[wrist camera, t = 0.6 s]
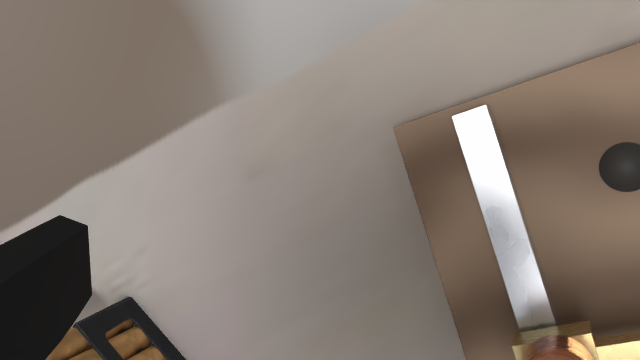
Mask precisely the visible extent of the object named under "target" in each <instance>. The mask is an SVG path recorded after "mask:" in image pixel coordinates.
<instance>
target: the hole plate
mask: <svg viewBox="0 0 640 360" xmlns="http://www.w3.org/2000/svg"><path fill="white" fill-rule="evenodd" d="M484 105H490V108H491V111H492V114H493V117H494V120H495V123H496V126H497V130H498V133H499V136H500V139H501V142H502V145H503V148H504V151H505V155H506V158H507V161H508V164H509V167H510V170H511V173H512V177H513V180H514V183H515V186H516V189H517V192H518V195H519V199H520V202H521V205H522V208H523V211H524V214H525V217H526V220H527V224H528V227H529V230H530V233H531V236H532V239H533V242H534V246H535V249H536V252H537V255H538V258H539V261H540V264H541V268H542V271H543V274H544V277H545V280H546V283H547V286H548V289H549V293H550V296H551V299H552V302H553V305H554V308H555V311H556V315H557V318H558V321H559V324H560V325H566V324H572V323H577V322H583V321H590V324H591V328H592V331H593V334H594V337H595V339H596V338H602V337H608V336H614V335H621V334H627V333H633V332H639V331H640V43H638V44H635V45H632V46H629V47H626V48H623V49H620V50H617V51H614V52H611V53H608V54H606V55H603V56H600V57H597V58H594V59H591V60H588V61H585V62H582V63H579V64H576V65H573V66H571V67H568V68H565V69H562V70H559V71H556V72H553V73H550V74H547V75H544V76H541V77H538V78H536V79H533V80H530V81H527V82H524V83H521V84H518V85H515V86H512V87H509V88H506V89H503V90H501V91H498V92H495V93H492V94H489V95H486V96H483V97H480V98H477V99H474V100H471V101H469V102H466V103H463V104H460V105H457V106H454V107H451V108H448V109H445V110H442V111H439V112H436V113H434V114H431V115H428V116H425V117H422V118H419V119H416V120H413V121H410V122H407V123H404V124H401V125H399V126H396V127H393V128H394V132H395V135H396V138H397V141H398V144H399V147H400V151H401V154H402V157H403V160H404V163H405V166H406V170H407V173H408V176H409V179H410V182H411V185H412V189H413V192H414V195H415V198H416V201H417V204H418V208H419V211H420V214H421V217H422V220H423V223H424V227H425V230H426V233H427V236H428V239H429V242H430V246H431V249H432V252H433V255H434V258H435V261H436V265H437V268H438V271H439V274H440V277H441V280H442V284H443V287H444V290H445V293H446V296H447V299H448V303H449V306H450V309H451V312H452V315H453V318H454V322H455V325H456V328H457V331H458V334H459V337H460V341H461V344H462V347H463V350H464V353H465V356H466V360H516V358H515V354H514V351H513V348H512V344H513V339H514V334H515V333H519V332H520V330H519V327H518V324H517V320H516V317H515V314H514V311H513V308H512V305H511V302H510V298H509V295H508V292H507V289H506V286H505V283H504V279H503V276H502V273H501V270H500V267H499V264H498V261H497V257H496V254H495V251H494V248H493V245H492V242H491V239H490V235H489V232H488V229H487V226H486V223H485V220H484V217H483V213H482V210H481V207H480V204H479V201H478V198H477V194H476V191H475V188H474V185H473V182H472V179H471V176H470V172H469V169H468V166H467V163H466V160H465V157H464V154H463V150H462V147H461V144H460V141H459V138H458V135H457V132H456V128H455V125H454V122H453V119H452V116H454V115H457V114H460V113H463V112H466V111H469V110H472V109H475V108H478V107H481V106H484Z"/></svg>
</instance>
